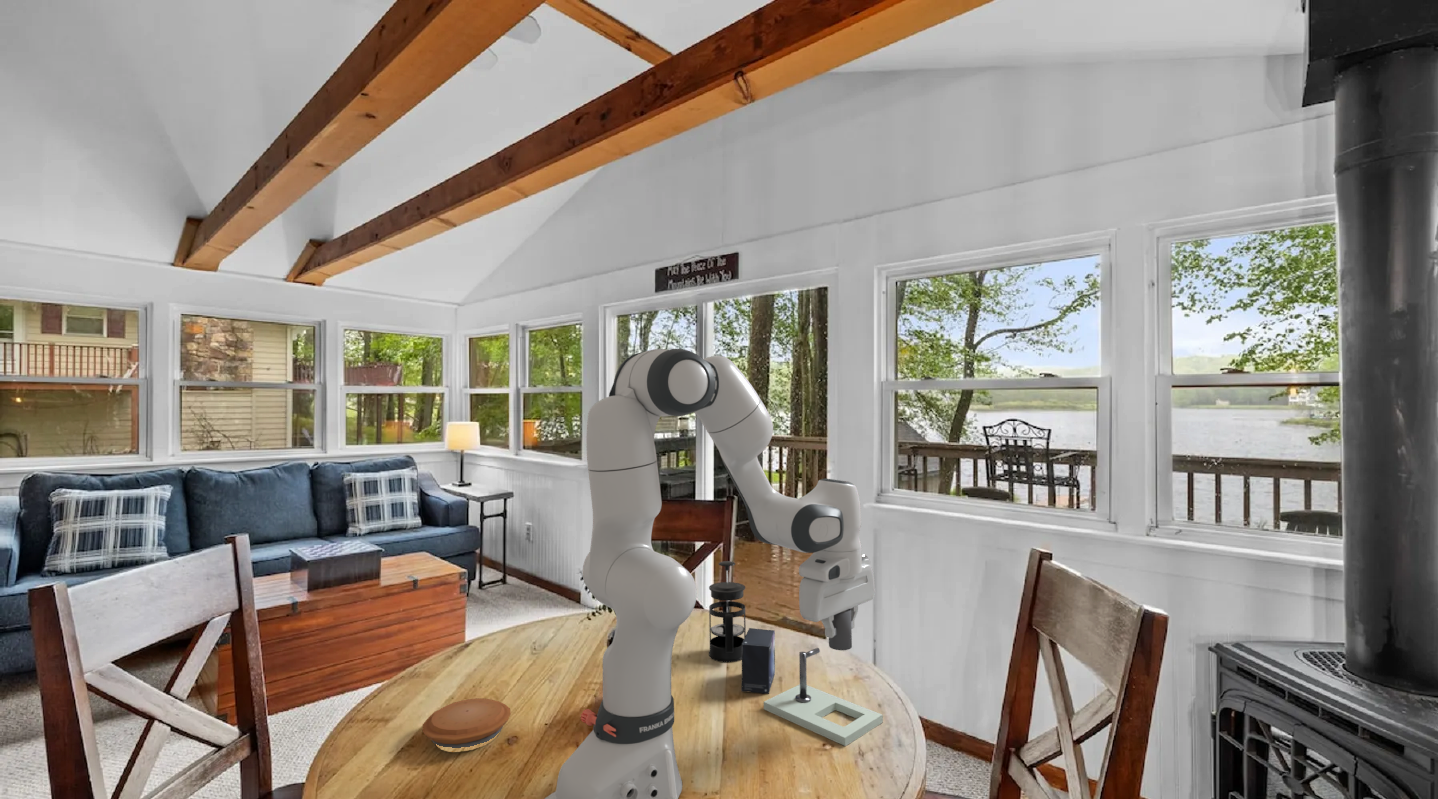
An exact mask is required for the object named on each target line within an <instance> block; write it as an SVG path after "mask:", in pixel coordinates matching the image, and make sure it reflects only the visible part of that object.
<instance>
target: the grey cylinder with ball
mask: <svg viewBox="0 0 1438 799" xmlns="http://www.w3.org/2000/svg"><path fill="white" fill-rule="evenodd" d="M832 623H833V626H834V627H837V635H836V636H835V637H833V638H829V637H828V647H829V648H830V649H832V650H836V651H848V650H850V649H852V647H853V645H852V644H853V641H852V640H853V639H852V638H853V636H852V635H853V634H852V633H853V631H852V627H851V609H848V610H845V611H843V612H840V613H838V614H836V615H834V620H833V621H832Z"/></svg>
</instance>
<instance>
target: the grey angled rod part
mask: <svg viewBox="0 0 1438 799" xmlns="http://www.w3.org/2000/svg"><path fill="white" fill-rule="evenodd" d="M820 652H821V650H820V648H819V647H816V648H813V649H811V650H809V651H799V655H798V656H799V662H798V663H799V684H800V694H798V695H796V697H795V699H796V701H798V702H801V703H808V702H810V701H811V696H809V695H807V685H808V683H807V681H808V679H807V677H808V676H807V659H808V658H810V657H813V656H814V655H817V654H819V653H820Z"/></svg>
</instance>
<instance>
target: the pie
mask: <svg viewBox="0 0 1438 799" xmlns="http://www.w3.org/2000/svg"><path fill="white" fill-rule="evenodd" d="M511 713H512V712H511V708H510V707H509V706H508V705H506V703H503V702H501V701H499V700H494V699H491V698H482V697H481V698H468V699H463V700H458V701H456V702H452V703H449V704H447V705H445V706H443V707H441V708H440V709H438V710H435V711H434V712H432V714H430V716H428V717H427V719H426V720H425V721H424V722H423V723H422V729H421V730H422V732H423V734H424V736H425V737H427V738H428V739H430V740H431V742H432V743H433V744H434V743H435V744H437V745H439V746H443V747H452V748H461V747H470V746H474V745H477V744H480V743H484V742H487V741H489V740H490V739H492V738H494V737H495V736H496V735H497V734H498V733H499V732H500V733H501V731H502V729H503V728H504V726H505V724H506V723H507V722H508V721H509V719H510V717H511ZM500 733H499V734H500ZM435 744H434V745H435Z"/></svg>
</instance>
